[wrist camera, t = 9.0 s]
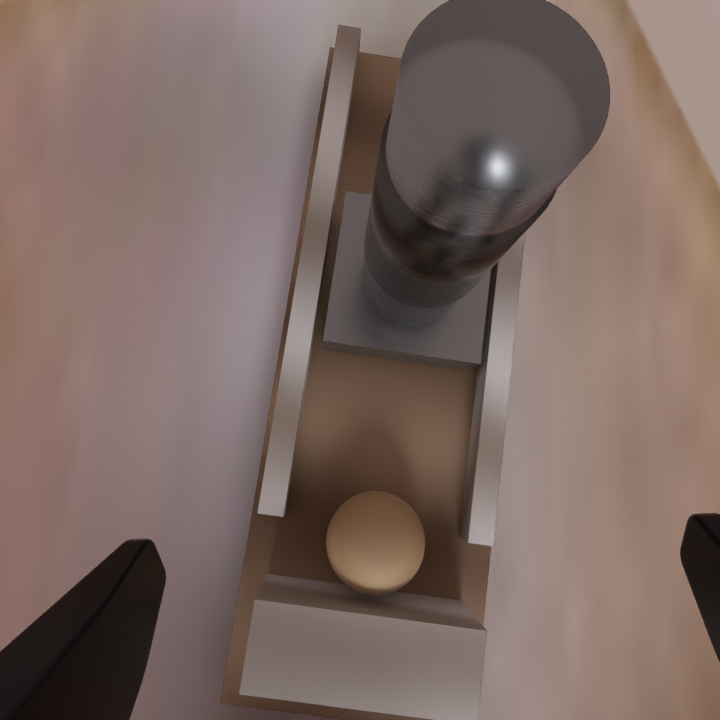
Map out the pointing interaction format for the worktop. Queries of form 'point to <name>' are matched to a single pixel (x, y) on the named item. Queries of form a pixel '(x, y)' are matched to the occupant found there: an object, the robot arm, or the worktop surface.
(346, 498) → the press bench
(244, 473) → the worktop surface
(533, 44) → the handle
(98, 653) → the robot arm
